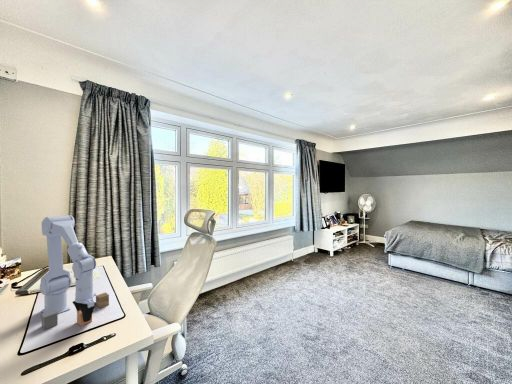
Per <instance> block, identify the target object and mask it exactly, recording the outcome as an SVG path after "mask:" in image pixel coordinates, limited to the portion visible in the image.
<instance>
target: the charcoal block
mask: <svg viewBox="0 0 512 384" xmlns="http://www.w3.org/2000/svg"><path fill="white" fill-rule="evenodd" d="M58 319H59V318H58V313H57V312H56V311H55V310H52V311H49V312H47V313H42V314H41V327H42V329H43V330H44V331H45V330H48V329H51V328H53V327H56V326H58V323H59V322H58Z"/></svg>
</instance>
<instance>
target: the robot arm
mask: <svg viewBox="0 0 512 384" xmlns="http://www.w3.org/2000/svg"><path fill="white" fill-rule="evenodd" d="M75 223H76V222H75V218H74V216H73V215H71V214H68V215H60V216H46V217H44V218H43V219H42V221H41V233H42V234H41V235H42V236H45V237H46V246H47V250H46V251H47V259H48V260H47V261H48V262H47V263H48V272H46V273H45V274H44V275H43V276H41V278H40V285H39V291H40V293H41V295H43V296H44V298H43V299H44V301H43V302H44V308H43V309H41V312H42V314H44V313H47V312H49V311H52V310H55V311H56V312H57V313H58V314H61V313H64V312H67V311H70V310H71V308H70V307H69V306H68V305H67V304H68V298H67V297H68V295H67V294H68V293H67V292H68V290H69V288H70V287H71V285H72V283H73V280H72V276H71V272H70V271H69V270H66V269H64V263H63V262H64V261H63V260H64V259H63V246H62V245H63V243H62V239H63V240H64V242H65V243H66V245H67V250H66V252H67V253H68V255H69V258H70V260H71V262H72V266H71V269H72V273H73V278H74V279H75V298H74V300H73V301H72V304H73V306H74V307H75V309H76V312H77V311H79V310H81V312H82V316H83V321H84V322H87V321H90V320H91V317H92V318H93V312H94V310H95V308H96V307H97V306H96V304H97V303H96V301H95V300H94V297H96V295H97V293H96V292H94V283H93V281H94V275H93V274H94V272H93V271H94V270H95V269H96V266H97V262H96V258H95V257H94V256H92V255H91V254H89V253H88V251H87V249H86V247H85V245H84V244H83V243H81V242H79V240H78V238H77V235H76V232H75V229H74V228H75V226H76V225H75Z"/></svg>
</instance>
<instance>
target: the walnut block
mask: <svg viewBox="0 0 512 384" xmlns="http://www.w3.org/2000/svg"><path fill="white" fill-rule="evenodd" d="M95 302H96V303H97V304H96V306H95V307H97V308H98V309H103V308H105V307H107V306H109V305H110V295H109V293H107V292H103V293H100V294H96V296H95Z"/></svg>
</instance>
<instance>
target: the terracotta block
mask: <svg viewBox="0 0 512 384" xmlns="http://www.w3.org/2000/svg"><path fill="white" fill-rule="evenodd" d="M92 322H93V316H92V317H91V320H90V321H87V322H84V321H83V316H82V312H81V310H79V311H77V310H76V323H77V325H79V326H80V327H82V326H85V325H87V324H90V323H92Z"/></svg>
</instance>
